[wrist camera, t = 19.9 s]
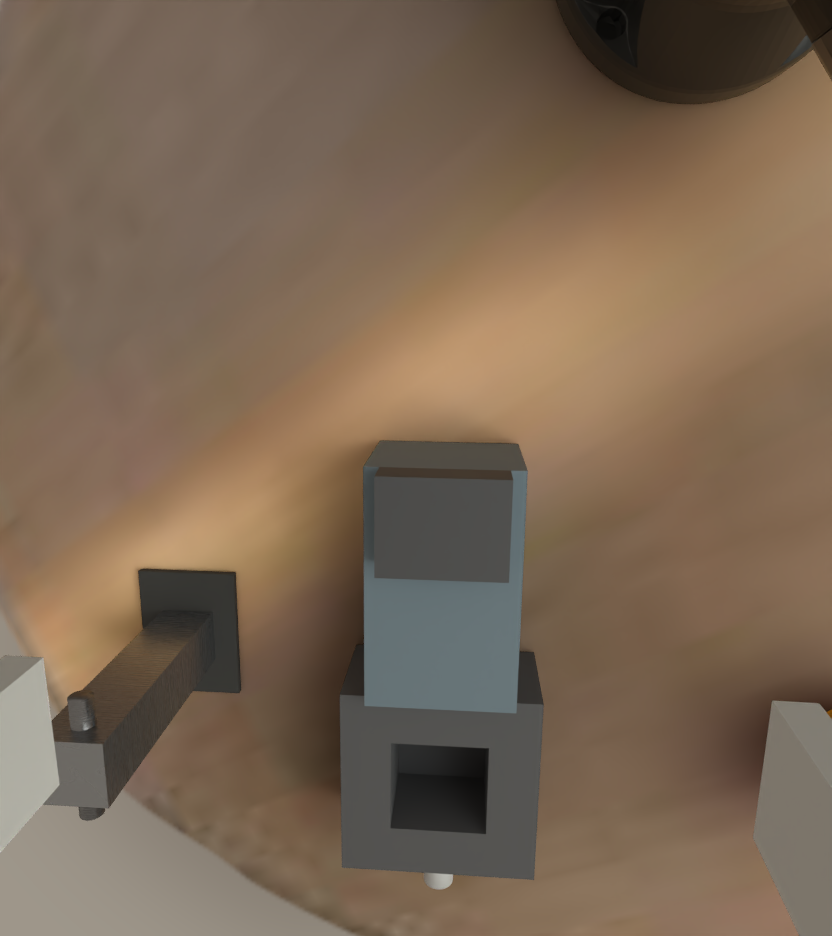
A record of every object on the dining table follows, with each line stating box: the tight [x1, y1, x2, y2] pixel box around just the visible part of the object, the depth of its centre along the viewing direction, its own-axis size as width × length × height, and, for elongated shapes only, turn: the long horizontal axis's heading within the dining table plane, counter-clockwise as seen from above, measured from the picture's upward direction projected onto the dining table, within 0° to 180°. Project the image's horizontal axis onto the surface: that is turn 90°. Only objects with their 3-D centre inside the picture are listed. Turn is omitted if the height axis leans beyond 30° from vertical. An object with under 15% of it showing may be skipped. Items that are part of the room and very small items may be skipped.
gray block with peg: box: [43, 610, 216, 820], centre depth 39 cm, size 3×6×14 cm, turn 179°
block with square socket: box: [340, 441, 544, 889], centre depth 41 cm, size 27×11×9 cm, turn 179°
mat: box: [138, 569, 241, 693], centre depth 46 cm, size 8×6×1 cm
